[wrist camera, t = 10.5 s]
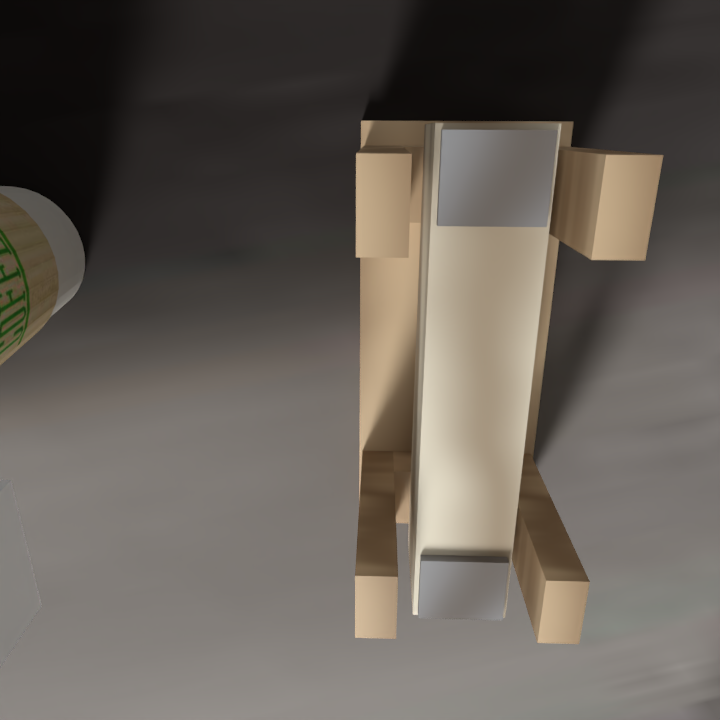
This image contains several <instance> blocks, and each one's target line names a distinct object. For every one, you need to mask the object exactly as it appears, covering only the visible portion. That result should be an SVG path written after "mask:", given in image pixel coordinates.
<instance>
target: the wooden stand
mask: <svg viewBox="0 0 720 720" xmlns="http://www.w3.org/2000/svg"><path fill="white" fill-rule="evenodd" d="M430 123H561V132H560V141H559V150H558V158H557V167H556V176H555V185H554V193H553V202H552V211H551V220H550V228H549V237H548V246H547V255H546V263H545V272H544V281H543V290H542V298H541V307H540V316H539V325H538V333H537V342H536V351H535V360H534V368H533V377H532V386H531V395H530V403H529V412H528V421H527V430H526V439H525V447H524V456H523V465H522V474H521V482H520V491H519V500H518V509H517V517H516V526H515V535H514V544H513V552H512V561H513V564H514V568H515V571H516V574H517V577H518V581H519V584H520V587H521V591H522V594H523V597H524V600H525V604H526V607H527V610H528V614H529V617H530V620H531V623H532V627H533V630H534V633H535V636H536V640H537V643H562V644H579V641H580V635H581V629H582V623H583V618H584V612H585V606H586V600H587V594H588V589H589V583H590V581H589V579H588V577H587V575H586V573H585V571H584V568H583V566H582V564H581V562H580V560H579V558H578V555H577V553H576V551H575V549H574V547H573V545H572V542H571V540H570V538H569V536H568V534H567V532H566V529H565V527H564V525H563V523H562V521H561V519H560V516H559V514H558V512H557V510H556V508H555V506H554V504H553V501H552V499H551V497H550V495H549V493H548V491H547V488H546V486H545V484H544V482H543V480H542V478H541V475H540V473H539V471H538V469H537V467H536V465H535V462H534V460H533V454H534V446H535V437H536V429H537V421H538V412H539V404H540V396H541V388H542V379H543V371H544V363H545V354H546V346H547V338H548V329H549V321H550V313H551V304H552V296H553V288H554V280H555V271H556V263H557V255H558V246H559V240H560V241H562V242H563V243H565V244H566V245H568V246H570V247H571V248H573V249H575V250H576V251H578V252H579V253H581V254H583V255H584V256H586V257H587V258H589V259H591V260H645V258H646V252H647V247H648V241H649V235H650V229H651V223H652V218H653V212H654V206H655V200H656V194H657V189H658V183H659V177H660V171H661V165H662V160H663V155H655V154H644V153H633V152H622V151H611V150H600V149H589V148H577V147H571V138H572V130H573V122H560V121H361V149H360V150H359V151H358V152H357V153H356V257H360V464H359V519H358V537H357V554H356V572H355V638H386V639H396V622H397V592H398V564H397V538H396V523H409V506H410V481H411V456H412V430H413V405H414V380H415V355H416V329H417V304H418V279H419V254H420V229H421V203H422V178H423V153H424V128H425V124H430Z"/></svg>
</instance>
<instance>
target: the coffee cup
mask: <svg viewBox="0 0 720 720" xmlns="http://www.w3.org/2000/svg"><path fill="white" fill-rule="evenodd" d="M84 271H85V254H84V249H83V244H82V241H81V239H80V236H79V234H78V231H77V230H76V228H75V226H74V225H73V223H72V222H71V220H70V219H69V218H68V216H67V215H66V214H65V213H64V212H63V211H62V210H61V209H60V208H59V207H58V206H57V205H56V204H54V203H53V202H52V201H51V200H49V199H47V198H46V197H44V196H42V195H40V194H39V193H36V192H33V191H31V190H28V189H25V188H18V187H12V186H0V365H1V364H2V363H4V362H5V361H6V360H7V359H8V358H9V357H10V356H11V355H13V354H14V353H15V352H16V351H17V350H18V349H19V348H20V347H21V346H23V345H24V344H25V343H26V342H27V341H28V340H29V339H30V338H32V337H33V336H34V335H35V334H36V333H37V332H38V331H39V330H40V329H42V327H43V326H44V325H45V323H46V322H47V321H48V319H49V318H50V317H51V316H52V315H53V314H54V313H55V312H57V311H58V310H59V309H60V308H61V307H62V306H63V305H65V304H66V303H67V302H68V301H69V300H70V299H72V297H73V296H74V295H75V293H76V292H77V291H78V289H79V287H80V285H81V282H82V280H83V276H84Z"/></svg>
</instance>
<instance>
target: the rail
mask: <svg viewBox="0 0 720 720" xmlns="http://www.w3.org/2000/svg"><path fill="white" fill-rule="evenodd" d="M560 132H561V123H430V124H425V128H424V153H423V178H422V203H421V229H420V254H419V279H418V304H417V329H416V355H415V380H414V405H413V430H412V456H411V481H410V506H409V531H408V548H409V563H410V579H411V594H412V609H413V615H418V618H432V619H468V620H503V617H505V614H506V605H507V596H508V587H509V579H510V570H511V561H512V552H513V544H514V535H515V526H516V517H517V509H518V500H519V491H520V482H521V474H522V465H523V456H524V447H525V439H526V430H527V421H528V412H529V403H530V395H531V386H532V377H533V368H534V360H535V351H536V342H537V333H538V325H539V316H540V307H541V298H542V290H543V281H544V272H545V263H546V255H547V246H548V237H549V228H550V220H551V211H552V202H553V193H554V185H555V176H556V167H557V158H558V150H559V141H560Z"/></svg>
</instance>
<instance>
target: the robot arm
mask: <svg viewBox="0 0 720 720" xmlns="http://www.w3.org/2000/svg"><path fill="white" fill-rule="evenodd" d="M41 606H42V605H41V601H40V597H39V593H38V588H37V584H36V580H35V576H34V572H33V568H32V564H31V560H30V556H29V551H28V547H27V543H26V539H25V535H24V531H23V527H22V523H21V518H20V514H19V510H18V506H17V502H16V498H15V494H14V490H13V486H12V481H11V480H0V668H1V666H2V665H3V663H4V662H5V660H6V659H7V657H8V656H9V654H10V653H11V651H12V650H13V648H14V647H15V645H16V644H17V642H18V641H19V639H20V638H21V636H22V635H23V633H24V632H25V630H26V629H27V627H28V626H29V624H30V623H31V621H32V620H33V618H34V617H35V615H36V614H37V612H38V611H39V609H40V608H41Z"/></svg>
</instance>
